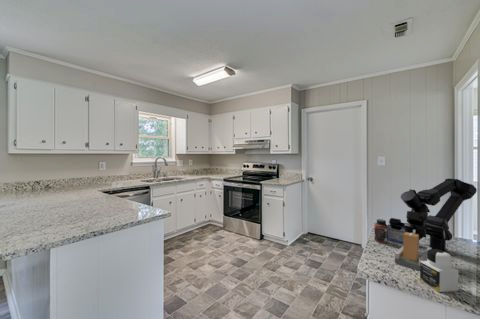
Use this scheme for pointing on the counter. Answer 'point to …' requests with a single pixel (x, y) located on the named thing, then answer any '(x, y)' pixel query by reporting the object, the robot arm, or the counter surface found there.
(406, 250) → the fader knob
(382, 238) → the supplement bottle
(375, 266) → the counter surface
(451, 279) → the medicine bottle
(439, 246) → the robot arm
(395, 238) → the medicine box
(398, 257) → the fader console
